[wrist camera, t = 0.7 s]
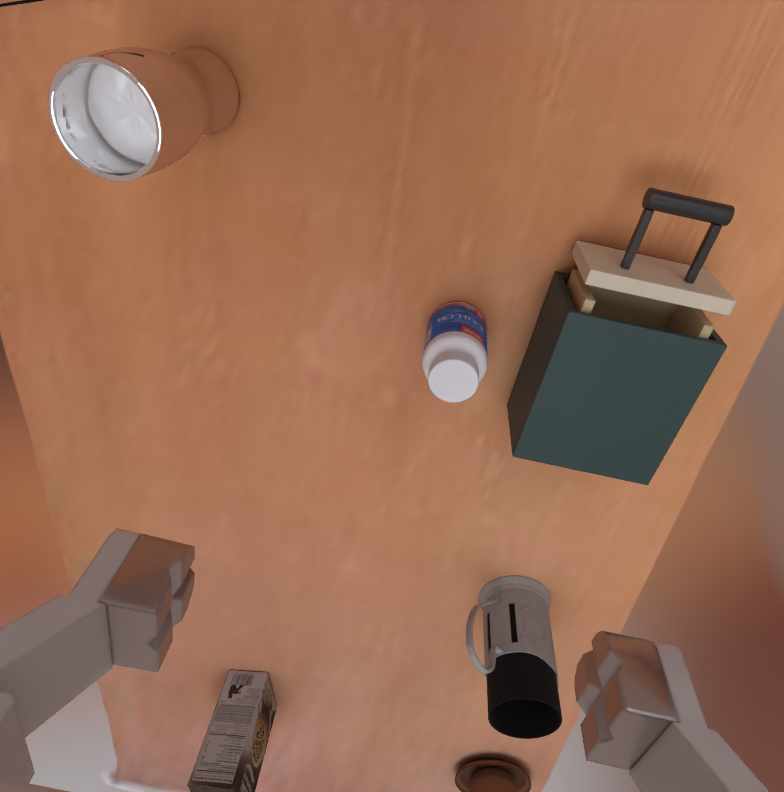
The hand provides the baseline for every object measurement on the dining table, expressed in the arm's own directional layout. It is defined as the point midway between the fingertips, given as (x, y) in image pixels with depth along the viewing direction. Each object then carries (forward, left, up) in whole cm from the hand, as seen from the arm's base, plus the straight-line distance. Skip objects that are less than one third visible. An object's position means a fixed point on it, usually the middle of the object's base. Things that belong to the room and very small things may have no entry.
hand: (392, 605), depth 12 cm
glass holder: (+47, +18, -43) cm, 66 cm away
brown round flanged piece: (+90, +29, -43) cm, 104 cm away
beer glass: (-1, -20, -43) cm, 47 cm away
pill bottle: (+14, +4, -43) cm, 45 cm away
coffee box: (+80, -11, -43) cm, 91 cm away
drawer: (+8, +17, -42) cm, 46 cm away
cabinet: (+14, +17, -42) cm, 48 cm away
